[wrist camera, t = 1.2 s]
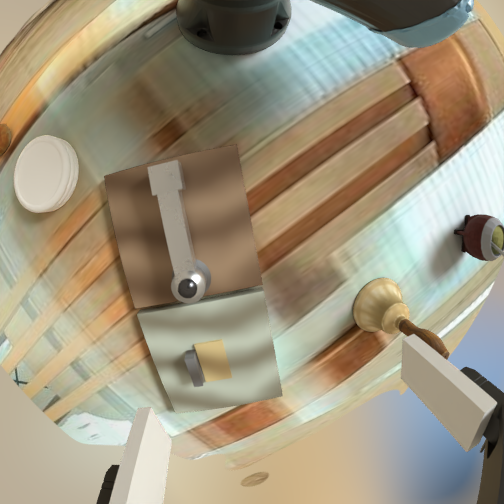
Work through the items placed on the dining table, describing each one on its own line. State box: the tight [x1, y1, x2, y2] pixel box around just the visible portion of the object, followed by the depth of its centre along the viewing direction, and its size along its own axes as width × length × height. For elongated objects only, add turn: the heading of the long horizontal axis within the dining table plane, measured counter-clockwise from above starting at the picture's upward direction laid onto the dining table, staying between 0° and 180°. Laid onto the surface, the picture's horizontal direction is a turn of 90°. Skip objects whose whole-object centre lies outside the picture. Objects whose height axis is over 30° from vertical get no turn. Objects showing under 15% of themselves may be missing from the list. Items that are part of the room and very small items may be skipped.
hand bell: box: [353, 278, 449, 360], centre depth 30 cm, size 8×8×16 cm
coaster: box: [14, 135, 79, 213], centre depth 28 cm, size 10×10×4 cm
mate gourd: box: [454, 215, 504, 261], centre depth 30 cm, size 8×8×15 cm
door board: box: [104, 144, 283, 413], centre depth 33 cm, size 34×16×4 cm, turn 11°
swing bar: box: [147, 160, 207, 304], centre depth 29 cm, size 15×4×4 cm, turn 11°
